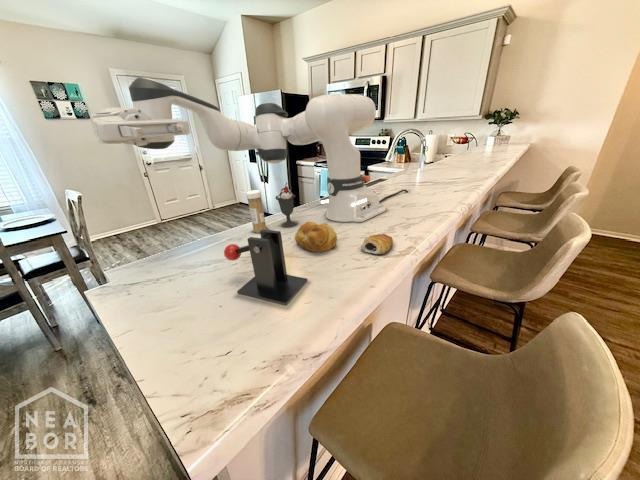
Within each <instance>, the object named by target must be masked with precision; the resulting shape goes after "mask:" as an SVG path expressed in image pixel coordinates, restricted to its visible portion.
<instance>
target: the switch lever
mask: <svg viewBox="0 0 640 480" xmlns="http://www.w3.org/2000/svg"><path fill="white" fill-rule="evenodd" d="M260 238H262V239H269V242H270V248H271V249H272V248H273V247H274V246H276V243H275V241H274V239H273V237H272V235H267V236H264V237H261V236H260ZM246 252H250V249H249V245H248V244H247V245H244V246H239V245H238V244H235V243H230V244H228V245H226V247H225V248H224V250H223V255H224V257H225V259H227V260H228V261H237V260H238V259H240V257H241V256H242V254H243V253H246Z"/></svg>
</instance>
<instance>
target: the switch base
mask: <svg viewBox="0 0 640 480" xmlns="http://www.w3.org/2000/svg"><path fill="white" fill-rule="evenodd" d="M259 235H260V237H253V236H250V237H248V238H247V245H249V249H250V251H249V254H250V259H251V263H252V268H253V274H254V276H253V277H252V278H250V280H249V281H247V282H246V283H245V284H244V285H242V286H241V287H240V288H239V289H238V290H237V291H236V293H237V294H238V295H242V296H246V297H250V298H254V299H258V300H262V301H266V302H270V303H274V304H277V305H282V306H285V307H286V306H288V305H289V304H290V303H291V301H292V300H293V299H294V298H295V297H296V295H297V294H298V293H299V292H300V290H301V289H302V288H303V287H304V286H305V285H306V284H307V283H308V281H309V280H308V278H305V277H302V276H296V275H291V274H288V272H287V266H286V259H285V251H284V246H283V244H284V243H283V239H282V232H281V230H272V229H266V230H265V229H262V230H261V231H260V233H259ZM267 235H272V237H273V239H274V241H275V243H276V246H274V247H273V248H272V249H271V248H270V242H269V239H262V238H261V237H264V236H267Z"/></svg>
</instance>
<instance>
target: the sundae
mask: <svg viewBox="0 0 640 480" xmlns="http://www.w3.org/2000/svg"><path fill="white" fill-rule="evenodd" d="M287 185H288V182H286V181H285V186H284V187H283V188H281V189H280V193H279V194H278V195H276V196H275V200H276V201H278V204H279V208H280V211H281V213H282V214H283V215H284V216H285V217H286V221H285V222H283V223H282V224H281V226H282V227H284V228H292V227H295V226H296V225H297V223H296V222H295V221H292V220H291V215H292V213H293V212H294V200H295V198H296V195H295V194H294V193H292V192H291V189H290V188H289V187H288V186H287Z"/></svg>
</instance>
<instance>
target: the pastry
mask: <svg viewBox="0 0 640 480" xmlns="http://www.w3.org/2000/svg"><path fill="white" fill-rule="evenodd" d="M393 241H394V240H393V237H392V236H391V235H388V234H386V233H381V234H380V233H379V234H371V235H369V236H368V237H365V238H364V239H363V242H362V243H361V245H360V248H361V250H362V252H364V253H367V254H373V255H383V254H386V253H387V252H389V250H390V249H391V247H392V245H393V243H394V242H393Z"/></svg>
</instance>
